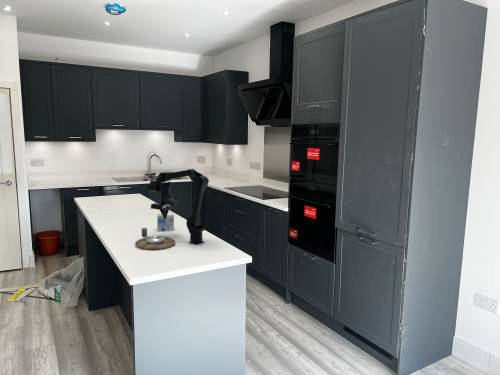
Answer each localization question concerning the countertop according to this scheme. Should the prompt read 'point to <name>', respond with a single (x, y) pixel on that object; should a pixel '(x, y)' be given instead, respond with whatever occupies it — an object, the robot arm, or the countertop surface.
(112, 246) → the countertop surface
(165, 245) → the dial base plate
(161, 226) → the light bulb box
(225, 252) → the countertop surface
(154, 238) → the dial
